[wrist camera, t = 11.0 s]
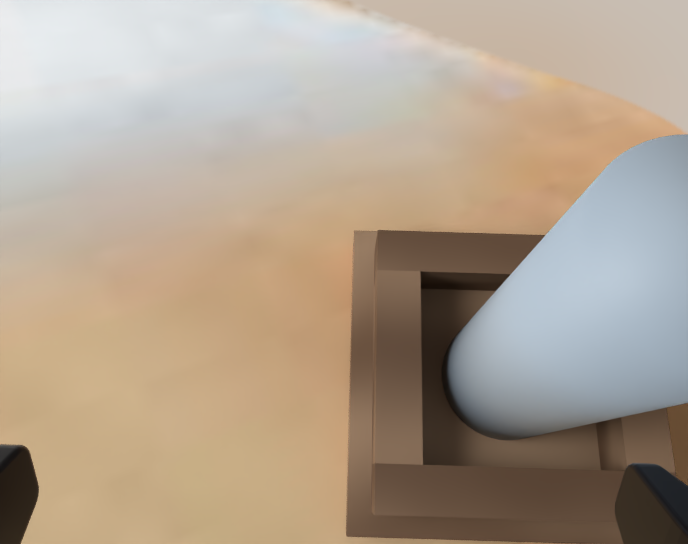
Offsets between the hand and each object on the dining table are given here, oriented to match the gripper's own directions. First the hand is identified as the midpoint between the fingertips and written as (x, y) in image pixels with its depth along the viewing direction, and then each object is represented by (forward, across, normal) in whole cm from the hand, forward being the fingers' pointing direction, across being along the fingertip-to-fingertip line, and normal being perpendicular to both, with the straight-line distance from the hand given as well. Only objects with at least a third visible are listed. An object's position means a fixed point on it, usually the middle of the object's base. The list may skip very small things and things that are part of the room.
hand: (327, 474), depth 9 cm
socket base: (+12, -6, +7) cm, 15 cm away
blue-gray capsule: (+11, -6, +6) cm, 14 cm away
